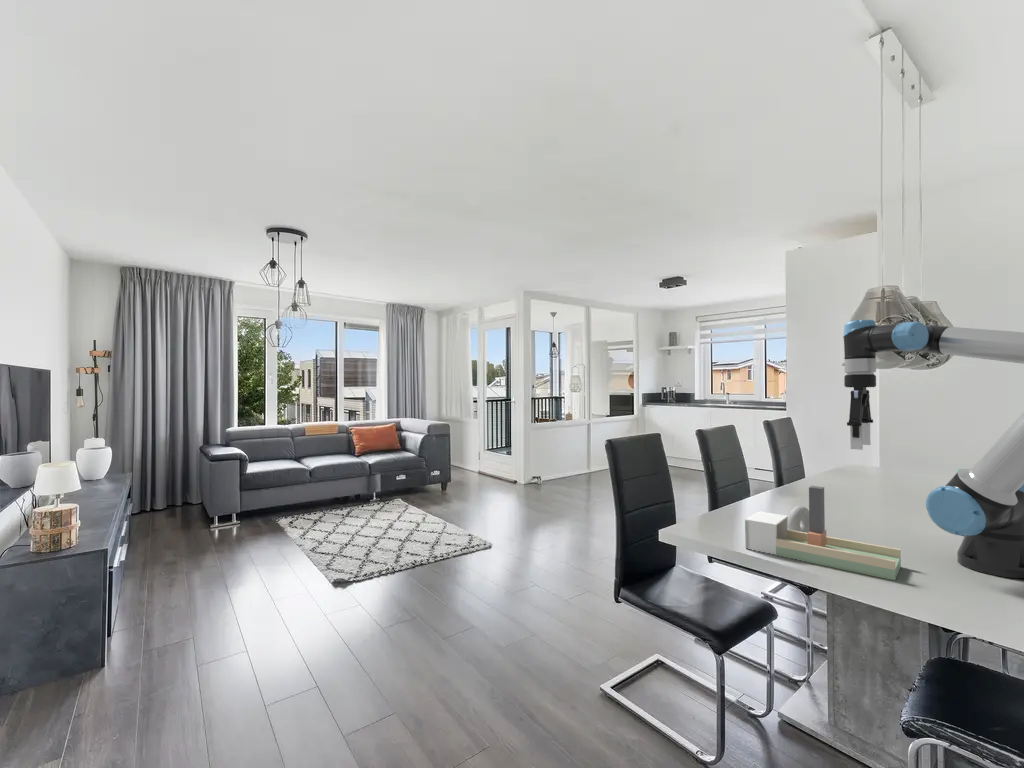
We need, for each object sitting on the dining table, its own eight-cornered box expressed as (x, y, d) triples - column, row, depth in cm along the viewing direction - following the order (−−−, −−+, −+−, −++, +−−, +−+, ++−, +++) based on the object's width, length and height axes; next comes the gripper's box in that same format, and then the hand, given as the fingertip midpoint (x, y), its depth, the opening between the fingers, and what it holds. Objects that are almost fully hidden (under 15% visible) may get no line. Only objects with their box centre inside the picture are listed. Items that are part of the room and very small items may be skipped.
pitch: (900, 566, 126) (900, 533, 126) (895, 580, 117) (894, 544, 117) (758, 539, 149) (758, 511, 149) (745, 548, 141) (745, 519, 141)
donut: (796, 542, 146) (796, 509, 146) (785, 539, 149) (784, 506, 149) (814, 537, 151) (814, 504, 151) (802, 534, 154) (802, 502, 154)
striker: (826, 544, 135) (825, 486, 135) (820, 550, 130) (819, 490, 130) (814, 541, 137) (813, 484, 137) (807, 548, 132) (807, 488, 132)
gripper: (852, 374, 154) (853, 442, 154) (835, 373, 136) (836, 450, 136) (882, 373, 149) (882, 443, 149) (868, 372, 131) (869, 452, 131)
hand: (860, 447), depth 142 cm, fingers open, 13 cm apart
